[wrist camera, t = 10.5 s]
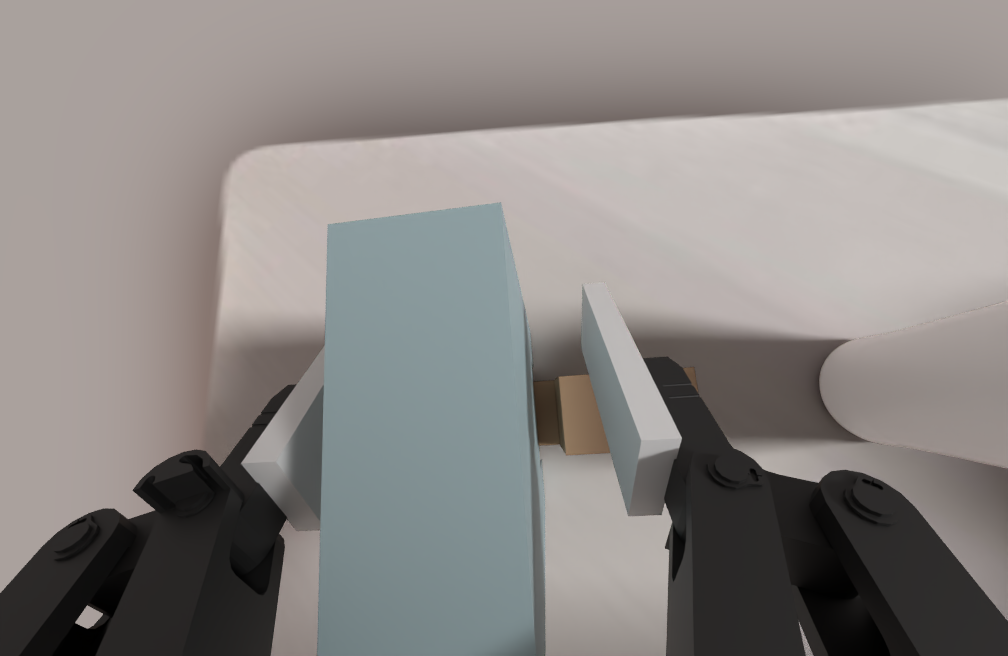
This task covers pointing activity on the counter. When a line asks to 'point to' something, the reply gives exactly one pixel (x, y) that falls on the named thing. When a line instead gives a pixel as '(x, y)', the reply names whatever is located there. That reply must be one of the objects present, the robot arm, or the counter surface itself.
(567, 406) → the wooden u-shaped block
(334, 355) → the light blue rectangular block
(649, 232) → the counter surface
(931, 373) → the drinking glass
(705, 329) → the counter surface
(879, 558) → the robot arm
